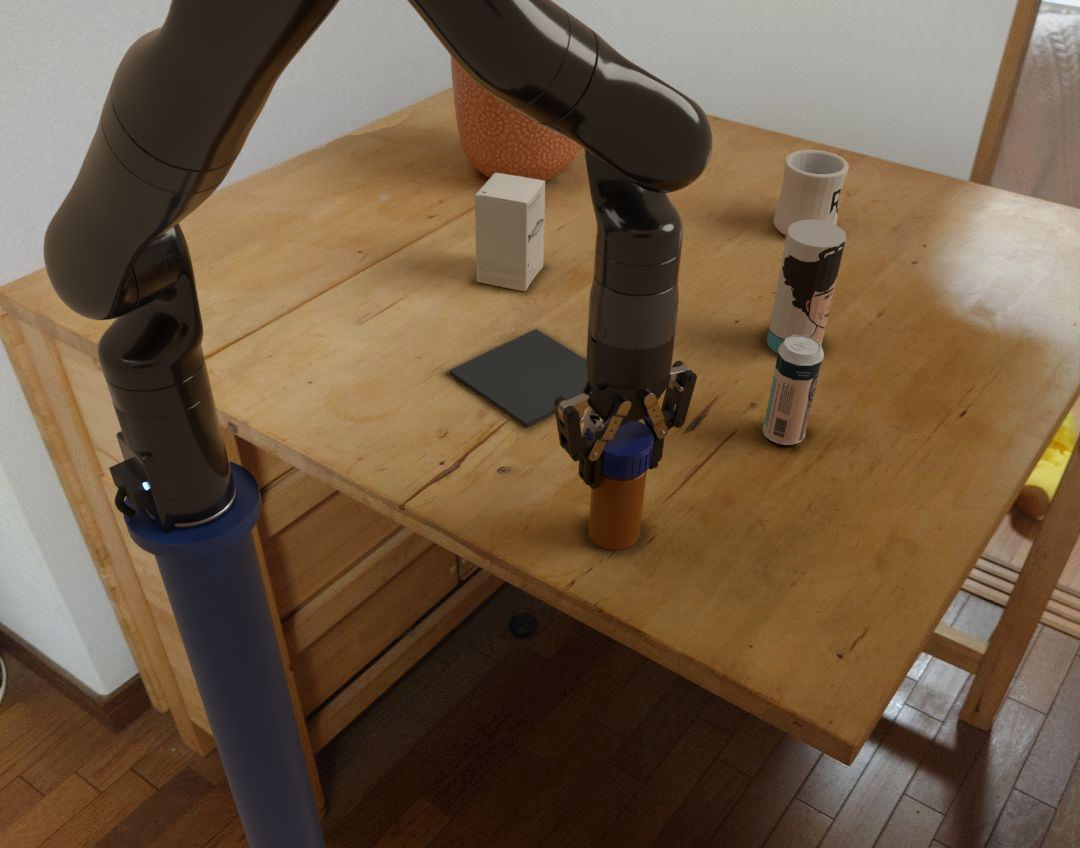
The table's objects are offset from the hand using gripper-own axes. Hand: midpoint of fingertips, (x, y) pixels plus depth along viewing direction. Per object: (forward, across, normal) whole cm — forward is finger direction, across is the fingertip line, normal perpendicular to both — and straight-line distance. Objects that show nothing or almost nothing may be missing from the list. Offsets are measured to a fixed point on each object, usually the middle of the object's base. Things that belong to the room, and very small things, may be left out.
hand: (619, 473), depth 103 cm
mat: (+8, -5, -28) cm, 30 cm away
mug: (+8, -59, -45) cm, 75 cm away
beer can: (+8, -25, -6) cm, 27 cm away
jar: (+8, 0, 0) cm, 8 cm away
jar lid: (-4, 0, 0) cm, 4 cm away
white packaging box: (+8, -14, -51) cm, 53 cm away
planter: (+8, -30, -80) cm, 86 cm away
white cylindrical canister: (+8, -38, -20) cm, 44 cm away
